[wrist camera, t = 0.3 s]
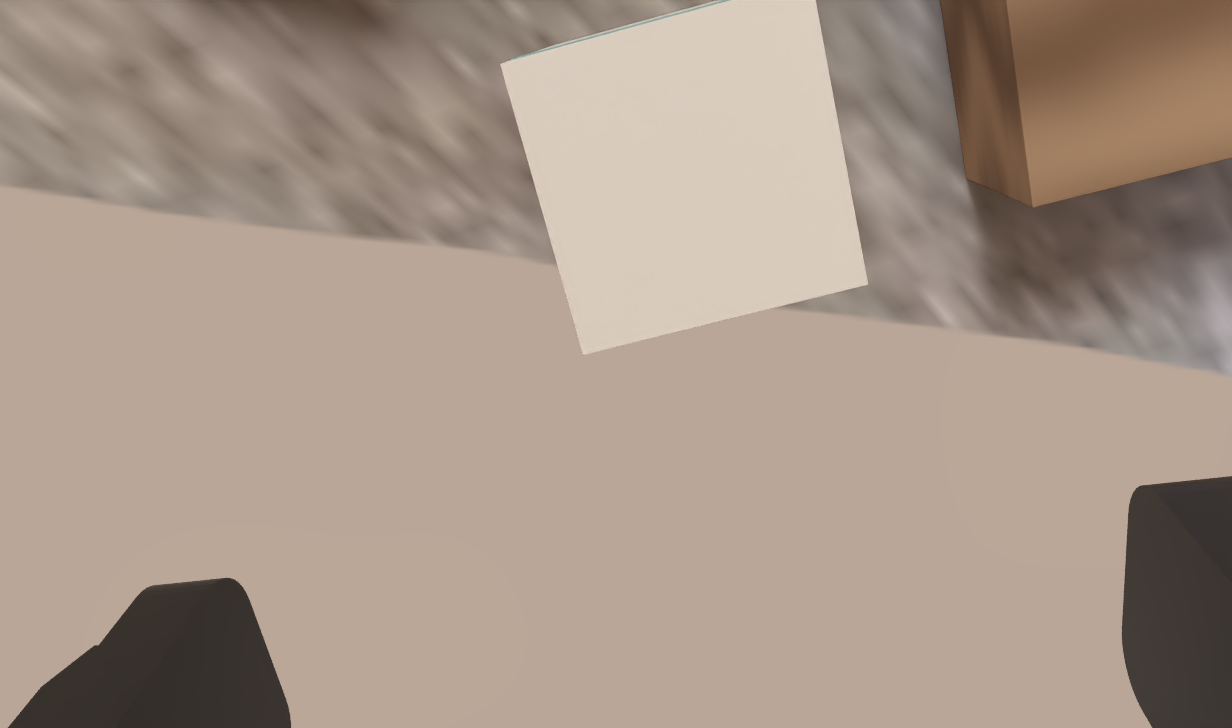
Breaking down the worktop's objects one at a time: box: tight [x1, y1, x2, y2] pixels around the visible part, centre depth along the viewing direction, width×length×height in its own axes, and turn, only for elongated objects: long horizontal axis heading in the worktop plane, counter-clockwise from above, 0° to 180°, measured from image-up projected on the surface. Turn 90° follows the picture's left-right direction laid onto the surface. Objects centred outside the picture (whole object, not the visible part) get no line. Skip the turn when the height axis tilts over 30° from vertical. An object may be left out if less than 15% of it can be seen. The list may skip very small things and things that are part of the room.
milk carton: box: [500, 0, 868, 355], centre depth 27 cm, size 6×6×16 cm
